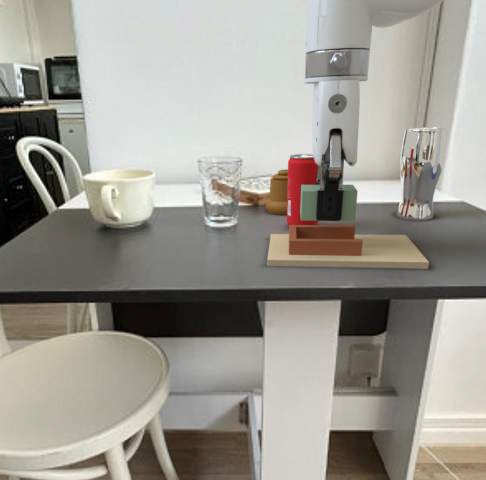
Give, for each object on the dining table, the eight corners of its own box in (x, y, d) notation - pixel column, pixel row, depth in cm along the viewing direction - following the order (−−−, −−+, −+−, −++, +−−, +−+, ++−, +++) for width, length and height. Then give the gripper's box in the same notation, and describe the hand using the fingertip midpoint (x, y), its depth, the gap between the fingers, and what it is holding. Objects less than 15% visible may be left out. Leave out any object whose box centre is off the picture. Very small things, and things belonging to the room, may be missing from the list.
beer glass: (385, 214, 81) (394, 129, 75) (416, 210, 83) (427, 126, 77) (412, 223, 74) (424, 130, 69) (445, 218, 76) (459, 128, 71)
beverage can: (298, 222, 78) (300, 153, 74) (323, 227, 74) (327, 154, 70) (280, 228, 75) (281, 156, 70) (306, 234, 71) (309, 158, 67)
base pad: (405, 241, 66) (407, 221, 64) (428, 269, 55) (431, 246, 54) (270, 239, 69) (270, 221, 68) (267, 266, 58) (267, 244, 57)
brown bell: (306, 215, 82) (266, 216, 83) (301, 206, 89) (264, 207, 90) (308, 172, 79) (267, 174, 80) (302, 166, 86) (264, 168, 87)
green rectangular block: (300, 220, 59) (302, 190, 57) (300, 212, 63) (301, 184, 61) (355, 221, 58) (357, 190, 56) (350, 212, 62) (353, 184, 60)
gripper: (381, 62, 45) (365, 233, 52) (358, 72, 61) (347, 202, 67) (307, 66, 46) (300, 232, 53) (302, 74, 62) (298, 202, 69)
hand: (326, 214), depth 60 cm, fingers closed on green rectangular block, 4 cm apart
